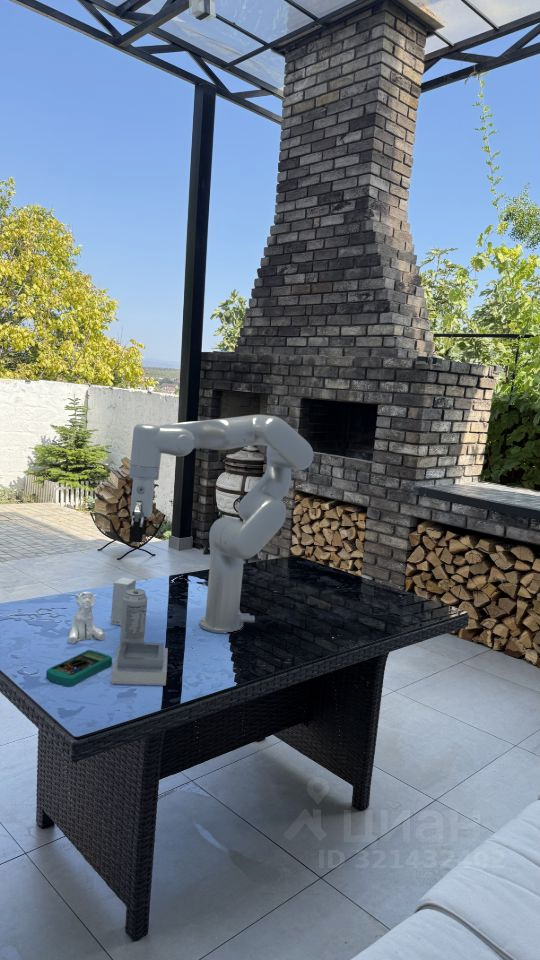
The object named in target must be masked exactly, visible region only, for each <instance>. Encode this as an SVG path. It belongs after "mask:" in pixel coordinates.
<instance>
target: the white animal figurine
mask: <svg viewBox="0 0 540 960" xmlns="http://www.w3.org/2000/svg"><path fill="white" fill-rule="evenodd" d="M73 595H74V598H75V599H76V600H77V602H76V604H77V606H78V609H77V610H76V612H75V614H74V617H73V618H74V619H73V621H72V622H71V627H70V631H69V633H68V636H67V637H68V639H67V641H68V643H69V644H71V645H73V644H76V643H77V642H82V641H85V640H87V641H89V640H90V641H91V640H98V641H101V642H102V641H104V640H105V638H106V633H105V632H104V631H103V630H102V628H99V627H96V625H95V624H94V613H93V610H92V609H93V607H94V606H95V605H96V602H95V601H96V600H95V599H96V596H97V593H96V594H93V592H90V591H88V590H87V591H82V592H80V593H79V594H78V593H74V594H73Z"/></svg>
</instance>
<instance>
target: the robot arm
mask: <svg viewBox="0 0 540 960" xmlns="http://www.w3.org/2000/svg"><path fill="white" fill-rule="evenodd" d="M132 433H133V434H132V440H131V441H132V442H131V452H130V463H129V472H128V473H129V474H128V477H129V478H130V479H132V485H131V486H132V487H131V497H130V512H129V513H130V514H129V516H131V524H130V527H129V529H130V530H129V538H128V541H129V542H131V543H142V542H143V536H145V535H146V534H147V524H148V520H149V518H151V516H152V514H153V504H154V496H155V495H154V494H155V492H154V491H155V481H158V480H159V478H160V477H159V476H160V468H161V458H162V454H164V455H169V456H170V455H171V456H174V457H184V456H188V455H189V454H190V453H191V452H192V451H193V450H194V449H208V450H217V451H219V450H220V451H223V450H224V451H225V450H233V449H238V448H244V447H252V446H265V447H266V469H265V472H264V474H263V476H262V477H261V478H260V480H258V481H257V483H256V484H255V485H254V486H253V487H252V488H251V489H250V490H249V491H248V492H247V493H246V495H244V496H243V498H242V499H241V500H240V501H239V503H238V506H237V512H238V515H239V517H240V518H241V519H242V520H239V519H237V518H233V517H231V516H230V517H229V516H228V517H227V516H224V517H223V516H222V517H220V518H218V519H216V520H215V521H214V522H213V523H212V525H211V527H210V529H209V537H208V538H209V539H208V542H209V553H210V554H209V555H210V556H209V557H210V558H209V572H208V583H207V594H206V595H207V596H206V604H205V605H206V606H205V615H204V616H203V617H200V619H199V626H200V627H201V629H203V630H206V631H207V632H212V633H216V634H225V633H224V632H233V631H237V630H240V629H241V628H242V627H243V628H244V623H255V621H256V620H255V619H256V617H255V615H250V613H242V611H241V610H240V603H241V594H242V593H241V592H242V584H243V583H242V582H243V573H244V560H249V559H251V558H253V557H255V556H256V555H258V554H259V553H260V552H261V550H262V549H263V548H264V547H265V546H266V545H268V543H269V542H270V540H272V538H273V537H274V536H275V535H276V534H277V533H278V532H279V531H280V529H281V528H282V527H283V525H284V524H285V521H286V518H287V506H286V504H285V502H284V501H282V500H283V498H285V496H287V495H286V494H287V493H288V492H289V490H290V487H291V483H292V470H294V471H303V470H305V469H308V468H309V467H310V466H311V464H312V462H313V461H314V456H315V455H314V451H313V447H312V446H311V444H310V443H309V442H308V441H307V440H306V439H305V437H303V436H302V435H301V434H299V432H297V431H296V430H295V429H294V428H293V427H292V426H291V425H289V424H288V423H287V422H286V421H285V420H284V419H282V418H280V417H279V416H276V415H267V414H250V415H249V414H248V415H242V416H235V417H234V416H233V417H226V418H217V419H206V420H197V421H196V420H195V421H185V422H184V421H183V422H175V423H167V424H162V425H154V424H153V425H152V424H145V423H138V424H137V423H136V425H135V426H134V428H133V431H132ZM243 520H244V521H243ZM243 628H242V629H243ZM242 629H241V630H242ZM241 630H240V631H241Z"/></svg>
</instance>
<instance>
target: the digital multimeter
mask: <svg viewBox="0 0 540 960" xmlns="http://www.w3.org/2000/svg"><path fill="white" fill-rule="evenodd" d="M112 663H113V657H112V656H110V655H109V654H106V653H103V652H100V651H97V650H93V649H87V650H84V651H83V652H81V653H79V654H77V655H75V656H73V657H70V658H69V659H67V660H64V661H62V662H60V663H58V664H56V665H53V666H51V667H50V668H48V669H46V676H45V679H46V680H49V681H51V682H53V683H55V684H58V685H62V686H65V685H66V687H73V686H75V685H77V684H78V683H80V682H81V681H84V680H85V679H87V678H89V677H91V676H93V675H95V674H97V673H98V671H99V672H101V671H102V670H105V669H107V668H108V667H110V666H112ZM83 679H84V680H83ZM76 683H77V684H76Z"/></svg>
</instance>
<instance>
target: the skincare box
mask: <svg viewBox="0 0 540 960" xmlns="http://www.w3.org/2000/svg"><path fill="white" fill-rule="evenodd" d="M136 582H137V579H135V578H128V577H121V578H119V579H118V580H116V581H114V582H113V588H112V601H111V603H112V605H111V615H110V624H111V625H115V626H121V618H122V603H123V597H124V595H125V594H126V590H129V589H136V584H137V583H136Z"/></svg>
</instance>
